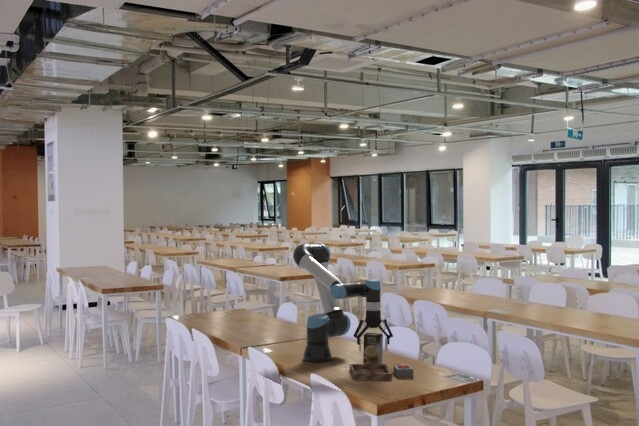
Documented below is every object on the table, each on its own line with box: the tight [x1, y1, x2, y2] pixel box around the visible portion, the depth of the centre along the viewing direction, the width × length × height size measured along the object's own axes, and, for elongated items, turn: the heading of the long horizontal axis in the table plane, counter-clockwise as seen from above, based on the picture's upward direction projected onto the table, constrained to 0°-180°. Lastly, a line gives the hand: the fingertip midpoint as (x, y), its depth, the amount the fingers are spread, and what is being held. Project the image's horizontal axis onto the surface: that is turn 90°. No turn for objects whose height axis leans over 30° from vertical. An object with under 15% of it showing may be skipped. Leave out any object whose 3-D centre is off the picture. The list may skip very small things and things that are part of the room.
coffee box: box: [362, 332, 384, 364], centre depth 305 cm, size 9×6×16 cm
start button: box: [398, 363, 409, 368], centre depth 285 cm, size 4×4×3 cm
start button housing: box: [393, 364, 414, 379], centre depth 285 cm, size 8×8×4 cm
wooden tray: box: [349, 363, 393, 381], centre depth 286 cm, size 18×18×3 cm
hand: (373, 350), depth 305 cm, fingers open, 13 cm apart
